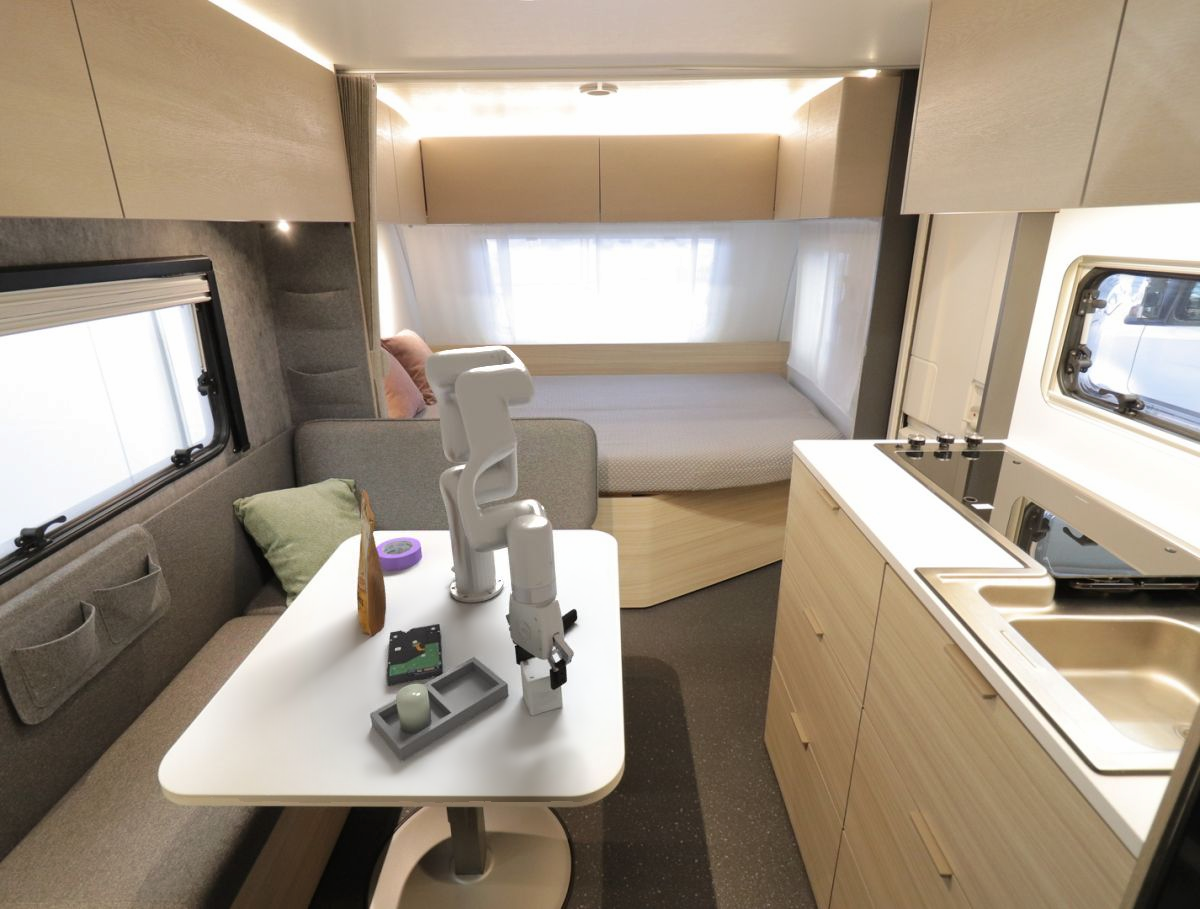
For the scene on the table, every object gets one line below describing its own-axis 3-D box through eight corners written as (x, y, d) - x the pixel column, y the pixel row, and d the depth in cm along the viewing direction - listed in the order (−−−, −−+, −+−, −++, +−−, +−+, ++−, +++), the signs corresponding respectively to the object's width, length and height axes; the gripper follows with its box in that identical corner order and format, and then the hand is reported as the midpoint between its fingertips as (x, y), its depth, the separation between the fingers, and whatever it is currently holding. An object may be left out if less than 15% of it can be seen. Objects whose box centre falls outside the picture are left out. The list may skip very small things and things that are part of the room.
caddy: (402, 761, 98) (399, 748, 97) (372, 725, 105) (369, 713, 104) (508, 695, 111) (507, 683, 110) (475, 667, 119) (474, 656, 118)
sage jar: (395, 722, 105) (390, 694, 103) (422, 707, 108) (418, 679, 106) (409, 738, 101) (404, 709, 99) (437, 722, 105) (433, 693, 103)
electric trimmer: (582, 623, 132) (582, 611, 131) (533, 660, 121) (532, 646, 120) (569, 618, 135) (568, 605, 134) (519, 653, 123) (518, 640, 122)
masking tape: (429, 550, 166) (427, 537, 165) (411, 571, 155) (409, 558, 154) (388, 548, 168) (386, 536, 166) (368, 570, 157) (366, 557, 156)
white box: (563, 707, 108) (561, 673, 106) (530, 716, 106) (527, 682, 104) (553, 685, 113) (551, 652, 111) (522, 694, 111) (519, 661, 109)
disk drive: (390, 643, 128) (388, 688, 114) (389, 632, 127) (386, 676, 114) (441, 633, 131) (444, 677, 117) (439, 622, 130) (442, 664, 116)
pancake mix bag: (392, 591, 146) (375, 483, 137) (392, 637, 129) (372, 517, 120) (363, 596, 144) (343, 488, 135) (359, 643, 127) (336, 522, 118)
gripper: (486, 578, 105) (495, 661, 111) (549, 616, 93) (556, 707, 99) (520, 563, 110) (528, 643, 116) (585, 597, 98) (590, 685, 104)
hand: (541, 672), depth 107 cm, fingers open, 9 cm apart
